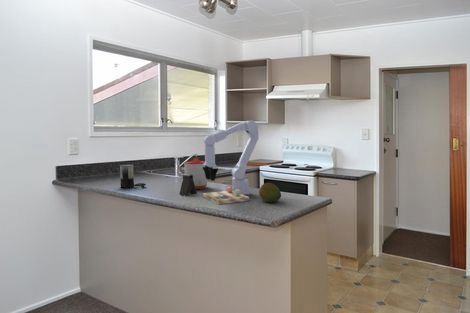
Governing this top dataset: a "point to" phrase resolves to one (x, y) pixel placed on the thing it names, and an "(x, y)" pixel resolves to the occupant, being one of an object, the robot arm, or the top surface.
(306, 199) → the top surface
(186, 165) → the citrus juicer
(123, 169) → the milk frother
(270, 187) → the fruit
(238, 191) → the sage ball
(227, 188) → the terracotta ball
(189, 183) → the door stopper
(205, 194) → the birch plate
